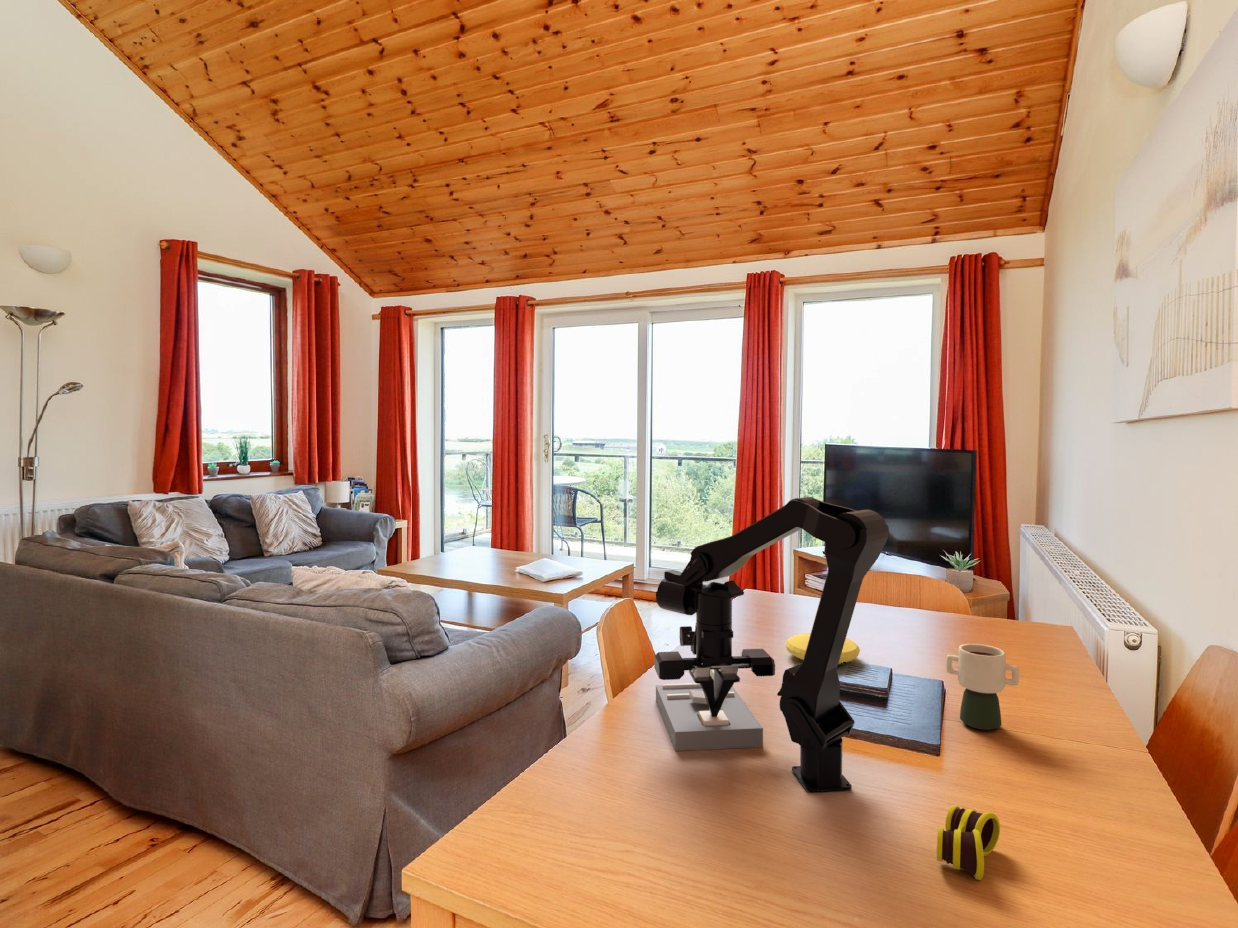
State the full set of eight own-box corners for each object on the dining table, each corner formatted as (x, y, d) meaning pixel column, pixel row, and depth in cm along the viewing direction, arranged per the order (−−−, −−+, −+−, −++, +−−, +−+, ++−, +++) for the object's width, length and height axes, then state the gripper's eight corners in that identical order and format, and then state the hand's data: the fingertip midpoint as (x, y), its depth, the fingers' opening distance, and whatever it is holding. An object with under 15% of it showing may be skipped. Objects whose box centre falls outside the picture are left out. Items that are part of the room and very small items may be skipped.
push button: (728, 735, 109) (728, 720, 109) (703, 737, 108) (704, 721, 108) (722, 725, 113) (722, 709, 112) (698, 726, 112) (698, 710, 112)
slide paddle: (723, 692, 121) (723, 673, 121) (709, 693, 121) (709, 673, 120) (718, 685, 124) (718, 666, 124) (705, 686, 124) (705, 666, 124)
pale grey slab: (720, 705, 115) (721, 699, 115) (692, 702, 115) (693, 696, 115) (715, 698, 119) (716, 692, 119) (688, 695, 118) (689, 689, 118)
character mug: (1019, 726, 115) (1021, 650, 114) (1014, 741, 109) (1016, 661, 108) (949, 711, 121) (950, 638, 120) (940, 724, 115) (942, 649, 115)
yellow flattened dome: (876, 666, 145) (876, 633, 145) (815, 675, 139) (815, 641, 139) (827, 645, 160) (828, 615, 159) (770, 653, 154) (771, 622, 154)
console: (762, 746, 107) (763, 724, 107) (675, 750, 106) (675, 728, 106) (729, 698, 127) (730, 679, 127) (655, 701, 126) (655, 681, 126)
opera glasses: (952, 832, 84) (952, 792, 84) (1000, 848, 81) (1001, 807, 81) (930, 871, 77) (931, 828, 77) (982, 891, 73) (983, 845, 73)
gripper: (755, 606, 119) (755, 694, 119) (649, 609, 117) (649, 699, 117) (776, 624, 108) (775, 721, 108) (659, 627, 106) (659, 726, 106)
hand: (713, 715), depth 110 cm, fingers closed, pressing on push button
